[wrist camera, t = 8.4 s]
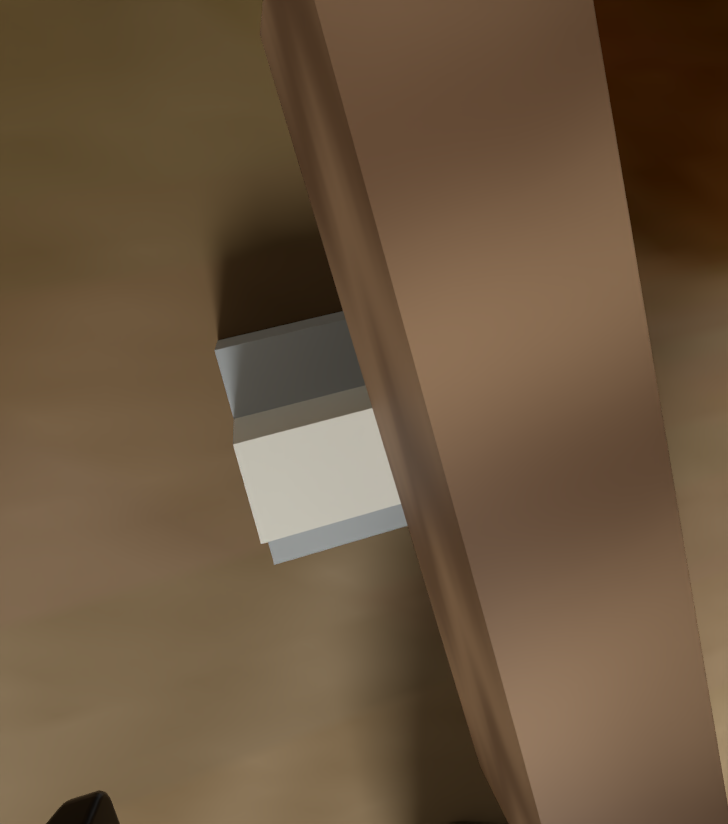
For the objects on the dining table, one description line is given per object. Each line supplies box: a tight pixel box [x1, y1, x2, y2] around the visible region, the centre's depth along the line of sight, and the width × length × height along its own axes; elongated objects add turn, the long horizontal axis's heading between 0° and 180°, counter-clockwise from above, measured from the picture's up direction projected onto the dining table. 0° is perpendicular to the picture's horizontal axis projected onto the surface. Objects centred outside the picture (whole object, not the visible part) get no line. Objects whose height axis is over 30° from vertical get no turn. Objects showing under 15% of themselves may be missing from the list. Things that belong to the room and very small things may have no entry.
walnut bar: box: [260, 0, 728, 824], centre depth 12 cm, size 18×4×5 cm, turn 17°
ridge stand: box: [215, 311, 408, 565], centre depth 16 cm, size 6×10×5 cm, turn 102°
